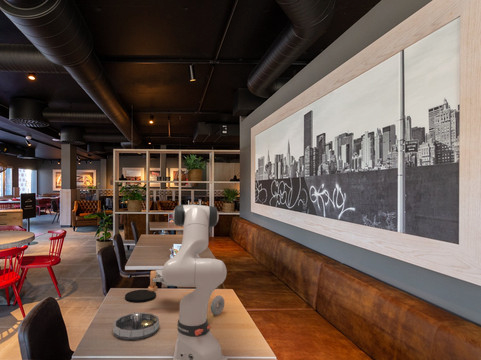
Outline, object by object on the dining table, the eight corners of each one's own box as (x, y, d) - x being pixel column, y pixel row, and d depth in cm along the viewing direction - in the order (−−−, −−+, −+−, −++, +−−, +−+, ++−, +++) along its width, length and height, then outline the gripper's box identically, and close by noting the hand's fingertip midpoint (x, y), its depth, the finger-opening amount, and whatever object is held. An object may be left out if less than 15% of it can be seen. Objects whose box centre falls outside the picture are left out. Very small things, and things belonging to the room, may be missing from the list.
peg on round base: (159, 289, 172) (159, 271, 172) (151, 291, 168) (152, 273, 168) (153, 287, 175) (154, 269, 175) (146, 289, 171) (147, 271, 171)
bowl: (167, 329, 149) (167, 313, 149) (128, 345, 133) (129, 327, 133) (142, 317, 161) (143, 302, 161) (104, 330, 146) (105, 313, 146)
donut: (214, 318, 163) (214, 299, 163) (208, 317, 165) (209, 297, 165) (225, 312, 171) (226, 294, 171) (220, 311, 173) (221, 292, 173)
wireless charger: (121, 303, 179) (121, 300, 179) (128, 292, 196) (128, 289, 196) (153, 303, 181) (153, 299, 181) (157, 292, 199) (158, 289, 199)
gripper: (169, 265, 187) (146, 268, 180) (182, 274, 170) (157, 278, 163) (169, 276, 187) (145, 279, 180) (182, 286, 170) (157, 290, 162)
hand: (151, 278), depth 171 cm, fingers closed on peg on round base, 3 cm apart
